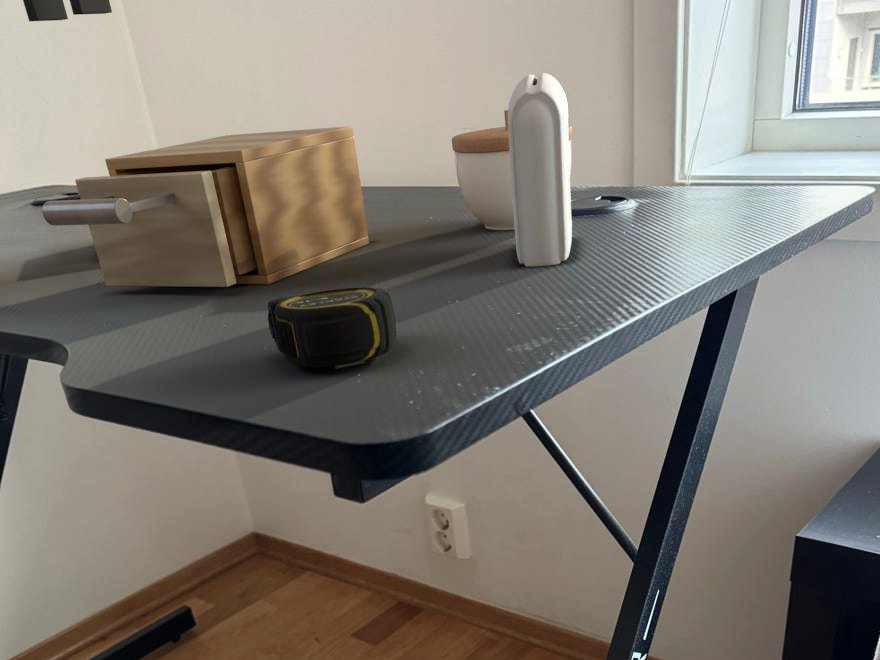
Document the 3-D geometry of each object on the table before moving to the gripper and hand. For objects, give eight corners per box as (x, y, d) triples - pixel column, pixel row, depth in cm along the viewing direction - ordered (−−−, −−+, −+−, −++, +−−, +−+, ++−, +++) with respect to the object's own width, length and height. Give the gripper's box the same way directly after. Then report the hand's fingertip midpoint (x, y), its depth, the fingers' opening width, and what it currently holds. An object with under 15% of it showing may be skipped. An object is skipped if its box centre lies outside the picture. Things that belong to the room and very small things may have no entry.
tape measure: (387, 339, 56) (377, 274, 54) (412, 367, 51) (402, 297, 49) (275, 358, 55) (261, 293, 53) (288, 389, 50) (273, 318, 48)
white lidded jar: (473, 218, 92) (464, 110, 87) (581, 211, 89) (578, 100, 84) (448, 240, 83) (436, 121, 78) (567, 232, 81) (562, 109, 76)
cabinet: (269, 286, 73) (241, 150, 68) (139, 285, 79) (104, 159, 73) (369, 245, 85) (352, 126, 79) (250, 246, 90) (227, 135, 85)
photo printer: (522, 244, 78) (512, 73, 71) (573, 240, 77) (568, 67, 71) (513, 271, 69) (500, 79, 63) (570, 267, 69) (563, 73, 62)
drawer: (171, 309, 65) (139, 187, 61) (46, 306, 70) (8, 193, 66) (331, 246, 80) (314, 146, 76) (219, 248, 85) (197, 153, 81)
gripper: (89, -545, 48) (203, 1, 61) (-114, -446, 55) (27, 27, 67) (-31, -613, 42) (123, 3, 55) (-241, -495, 49) (-61, 31, 62)
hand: (70, 16), depth 61 cm, fingers open, 3 cm apart
